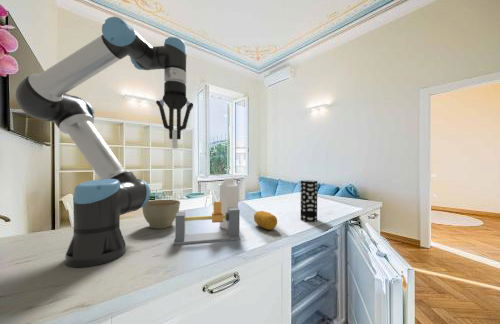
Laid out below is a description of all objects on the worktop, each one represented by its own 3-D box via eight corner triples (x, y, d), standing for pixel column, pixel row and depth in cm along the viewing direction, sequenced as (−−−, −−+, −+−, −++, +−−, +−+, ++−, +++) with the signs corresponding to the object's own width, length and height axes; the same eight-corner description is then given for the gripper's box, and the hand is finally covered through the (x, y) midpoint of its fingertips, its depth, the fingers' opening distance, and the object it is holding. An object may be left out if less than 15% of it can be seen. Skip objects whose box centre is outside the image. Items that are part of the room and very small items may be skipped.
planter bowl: (171, 231, 89) (172, 206, 89) (134, 231, 90) (134, 205, 90) (184, 221, 105) (184, 199, 105) (152, 220, 106) (152, 199, 106)
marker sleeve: (212, 222, 81) (212, 202, 81) (211, 220, 84) (212, 201, 84) (222, 222, 82) (223, 202, 82) (222, 219, 85) (222, 200, 85)
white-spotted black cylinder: (306, 216, 115) (306, 180, 116) (320, 220, 109) (320, 181, 109) (297, 219, 110) (297, 180, 110) (310, 223, 104) (311, 182, 104)
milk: (237, 227, 97) (238, 178, 97) (227, 229, 92) (227, 179, 93) (229, 224, 101) (230, 177, 101) (219, 226, 97) (219, 178, 97)
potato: (264, 222, 104) (264, 208, 104) (281, 231, 91) (281, 215, 91) (251, 224, 101) (251, 209, 101) (266, 233, 88) (266, 216, 88)
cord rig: (173, 244, 75) (173, 213, 75) (175, 237, 83) (176, 209, 83) (240, 239, 81) (240, 210, 81) (236, 232, 88) (236, 206, 89)
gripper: (154, 77, 72) (153, 147, 72) (193, 81, 75) (193, 148, 75) (158, 85, 79) (157, 148, 79) (194, 88, 82) (193, 149, 82)
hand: (174, 148), depth 77 cm, fingers closed
